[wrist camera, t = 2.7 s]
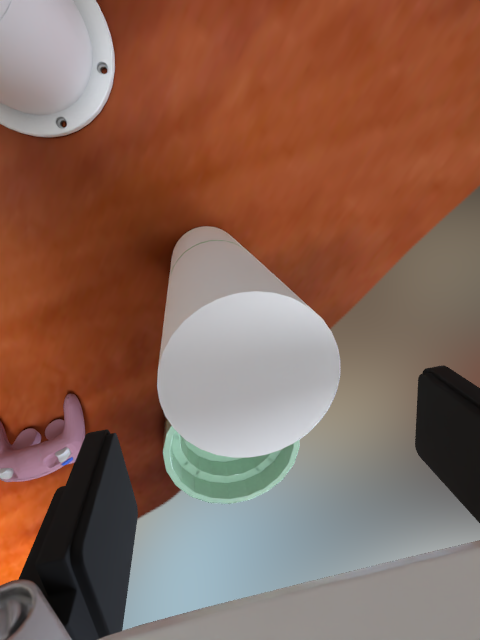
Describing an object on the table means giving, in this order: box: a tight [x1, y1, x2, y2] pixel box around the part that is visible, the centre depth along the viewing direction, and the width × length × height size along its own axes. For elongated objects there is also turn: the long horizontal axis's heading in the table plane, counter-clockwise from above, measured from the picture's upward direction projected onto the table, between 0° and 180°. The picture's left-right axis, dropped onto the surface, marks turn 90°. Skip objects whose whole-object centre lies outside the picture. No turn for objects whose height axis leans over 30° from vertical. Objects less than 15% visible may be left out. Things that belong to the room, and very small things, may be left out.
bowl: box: [163, 418, 300, 504], centre depth 41 cm, size 14×14×6 cm
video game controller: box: [0, 394, 85, 482], centre depth 38 cm, size 10×5×7 cm, turn 105°
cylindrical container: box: [157, 226, 340, 458], centre depth 26 cm, size 7×7×25 cm
